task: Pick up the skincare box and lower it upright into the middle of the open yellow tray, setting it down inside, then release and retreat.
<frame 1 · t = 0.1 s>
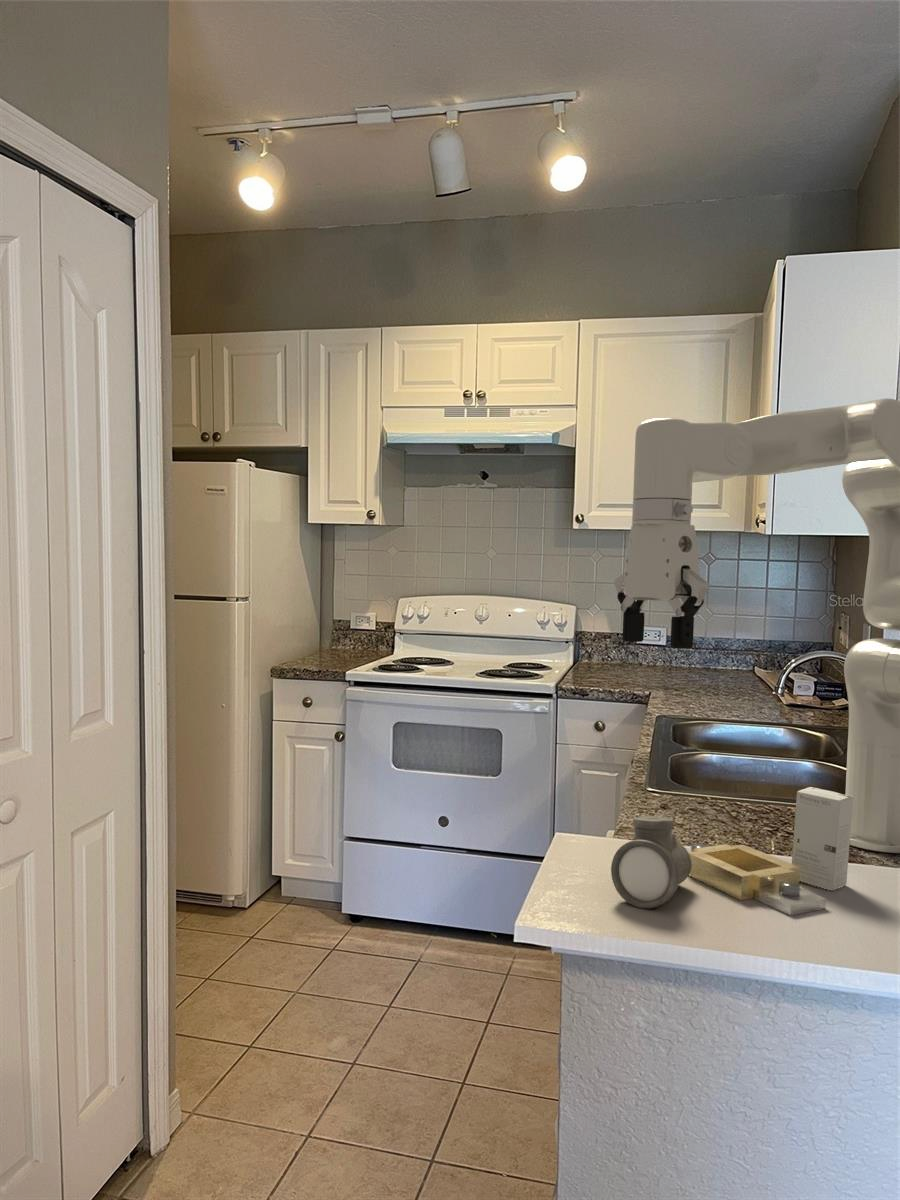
hand: (656, 644, 116), 31 cm above the counter, fingers open, 9 cm apart
open yellow tray: (741, 882, 117), on the counter
pipe fitting: (656, 896, 111), on the counter
skincare box: (819, 884, 118), on the counter
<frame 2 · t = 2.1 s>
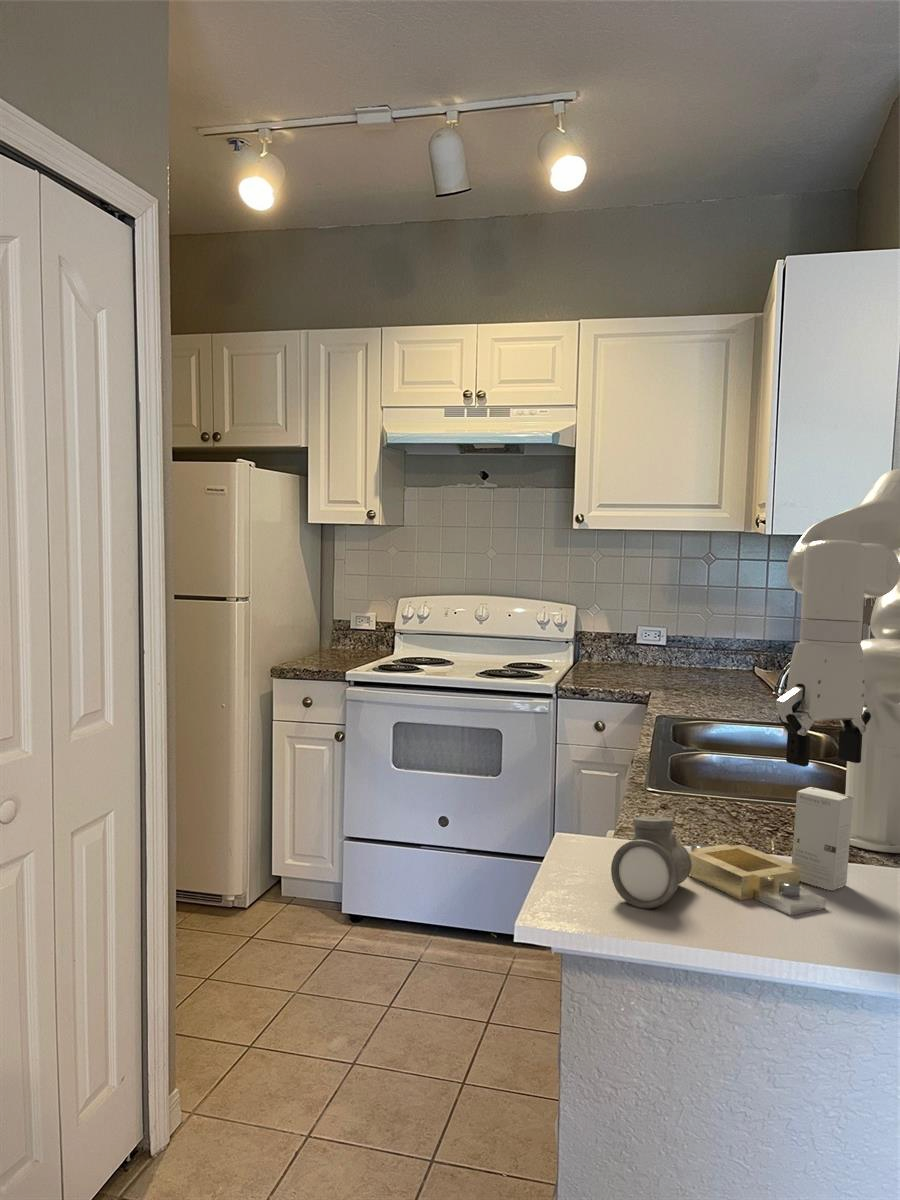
hand: (823, 762, 117), 16 cm above the counter, fingers open, 9 cm apart
nothing on the counter moved.
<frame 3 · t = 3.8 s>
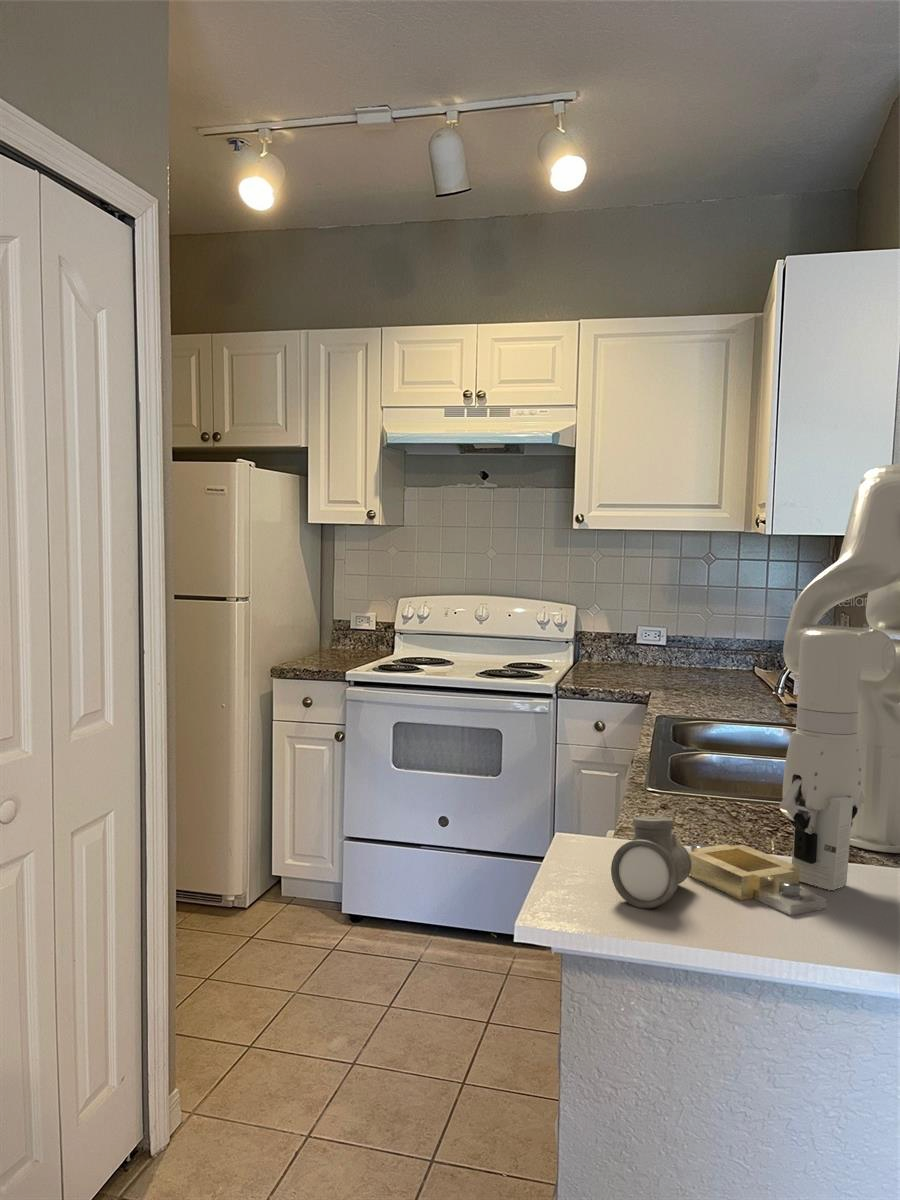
hand: (820, 856, 117), 3 cm above the counter, fingers closed on skincare box, 5 cm apart
skincare box: (819, 884, 118), on the counter, touching gripper
everything else where it was.
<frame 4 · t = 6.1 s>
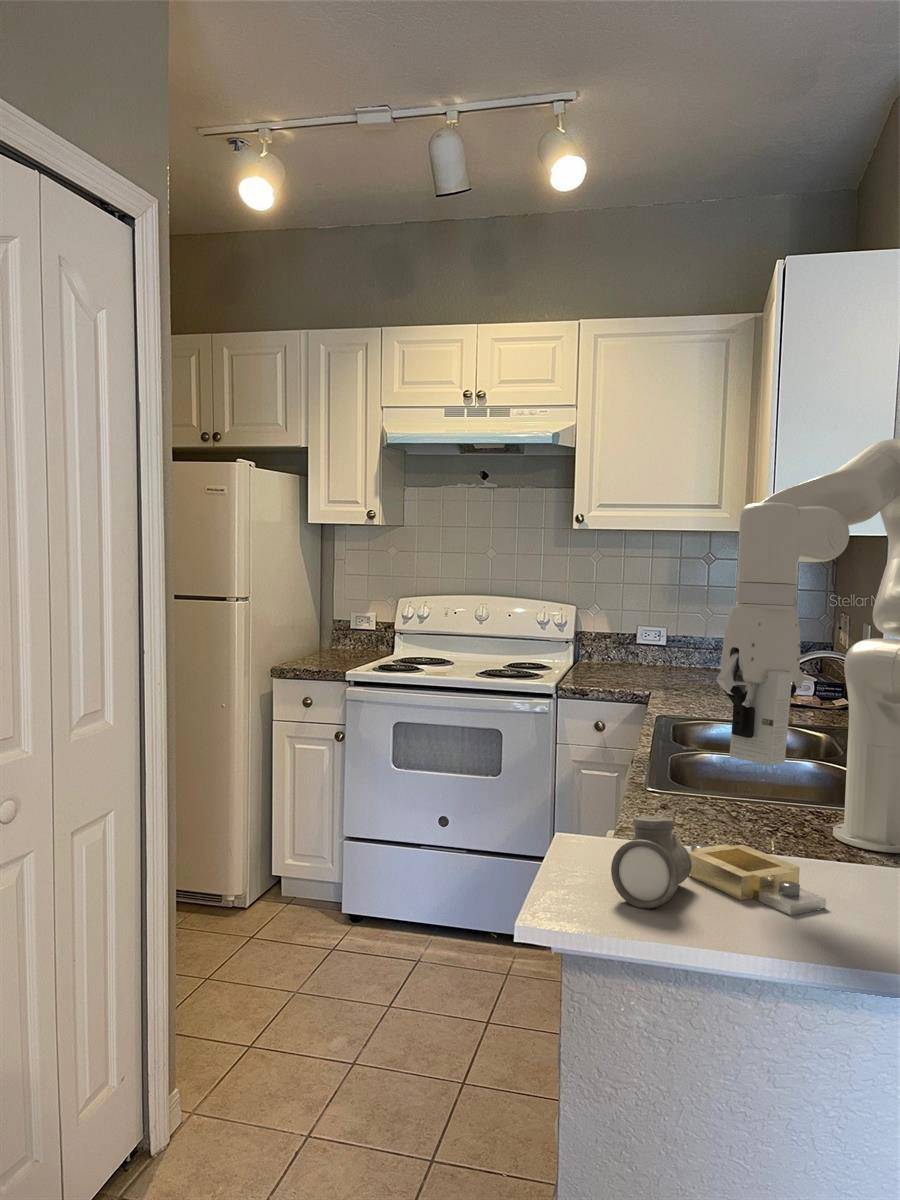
hand: (758, 733, 116), 20 cm above the counter, fingers closed on skincare box, 5 cm apart
skincare box: (758, 761, 116), point 16 cm above the counter, touching gripper
everything else where it was.
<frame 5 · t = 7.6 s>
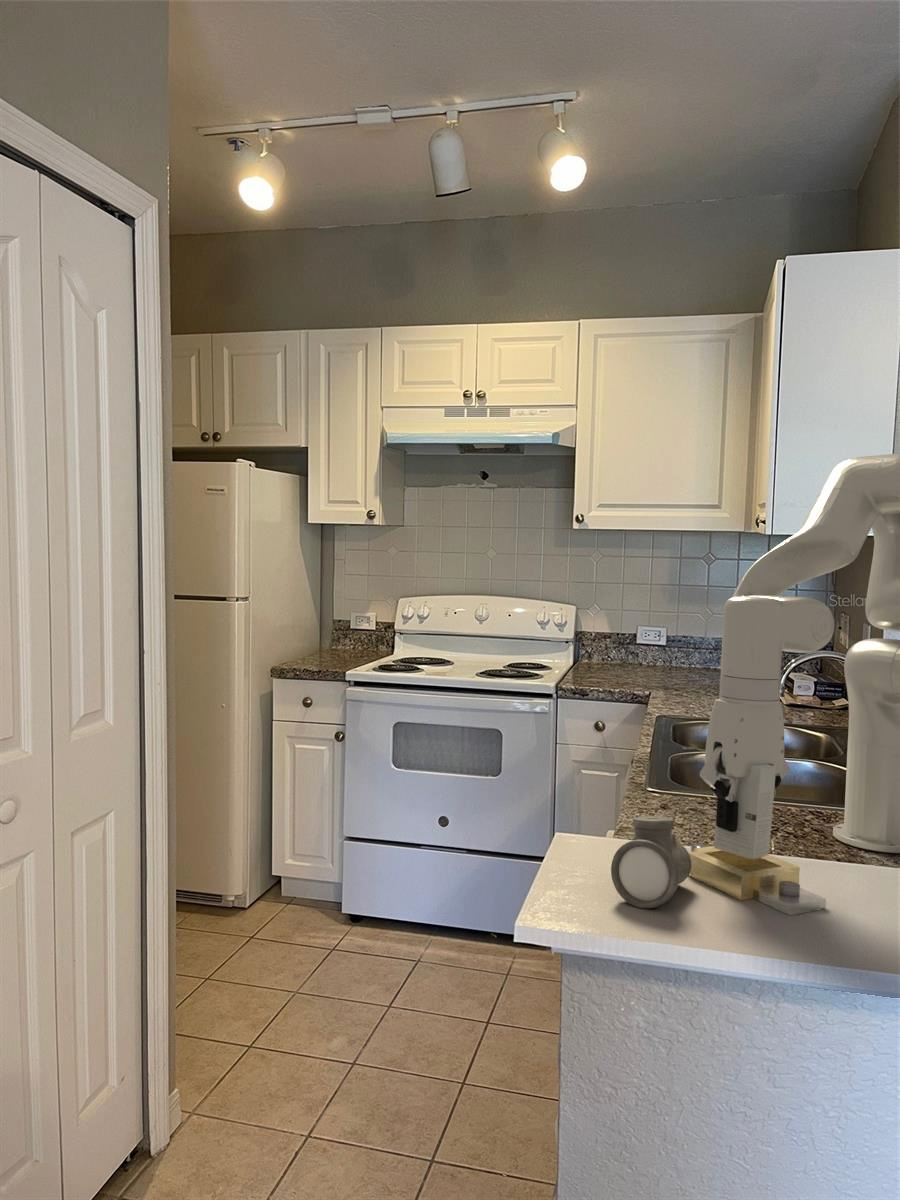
hand: (743, 825, 116), 8 cm above the counter, fingers closed on skincare box, 5 cm apart
skincare box: (742, 853, 116), point 4 cm above the counter, touching gripper
everything else where it was.
when the fingers open (5 cm above the counter, at t = 8.5 s): skincare box drops 1 cm, resting in open yellow tray.
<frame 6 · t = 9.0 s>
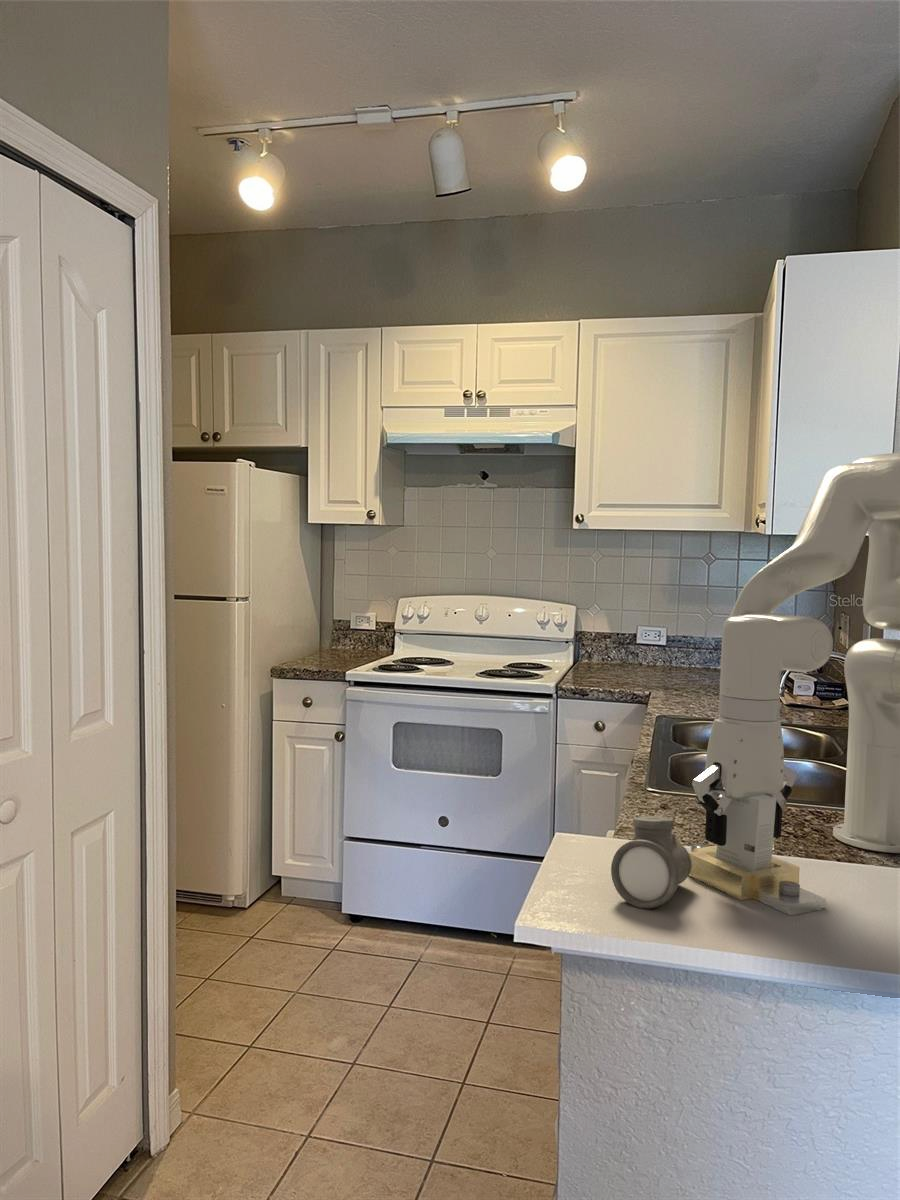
hand: (743, 838, 117), 6 cm above the counter, fingers open, 9 cm apart
skincare box: (743, 883, 117), resting in open yellow tray
everything else where it was.
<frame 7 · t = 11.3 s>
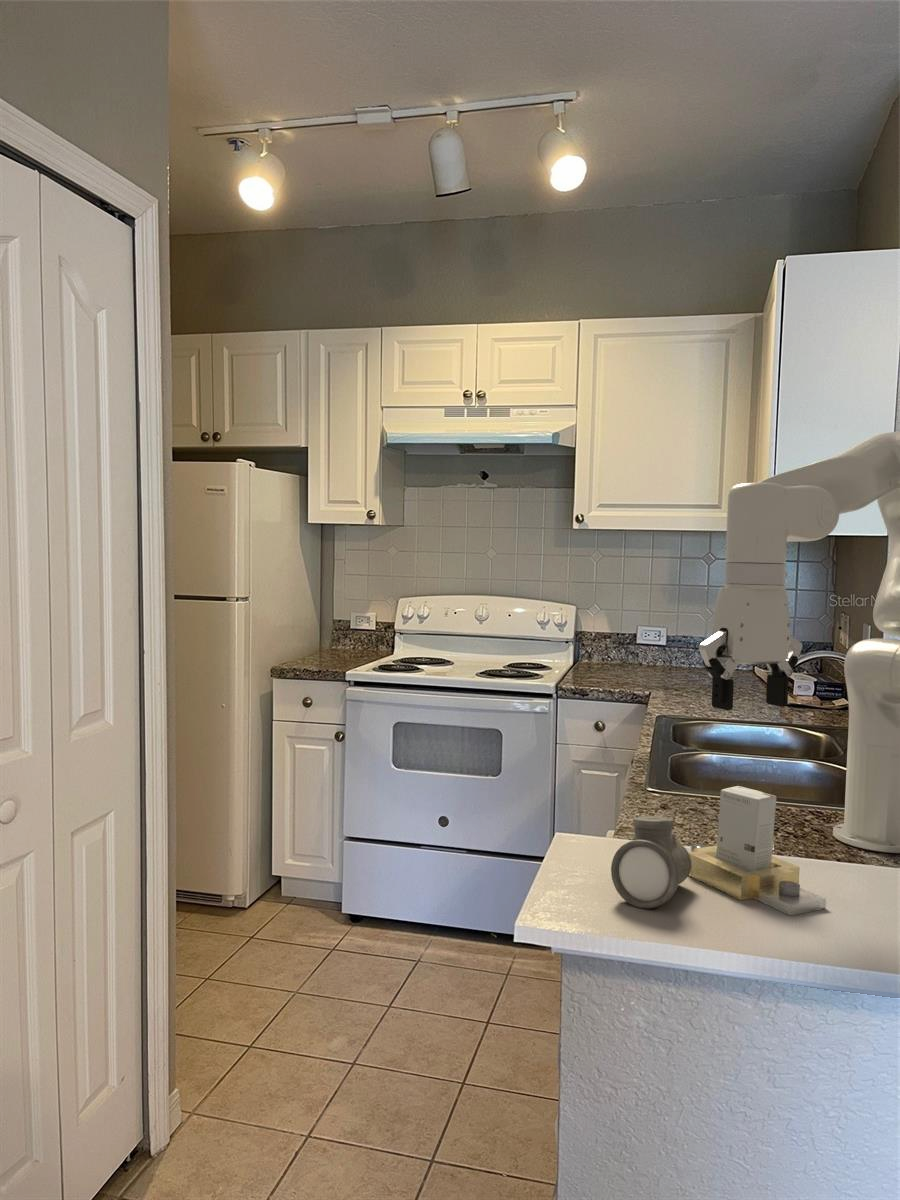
hand: (749, 706, 116), 23 cm above the counter, fingers open, 9 cm apart
nothing on the counter moved.
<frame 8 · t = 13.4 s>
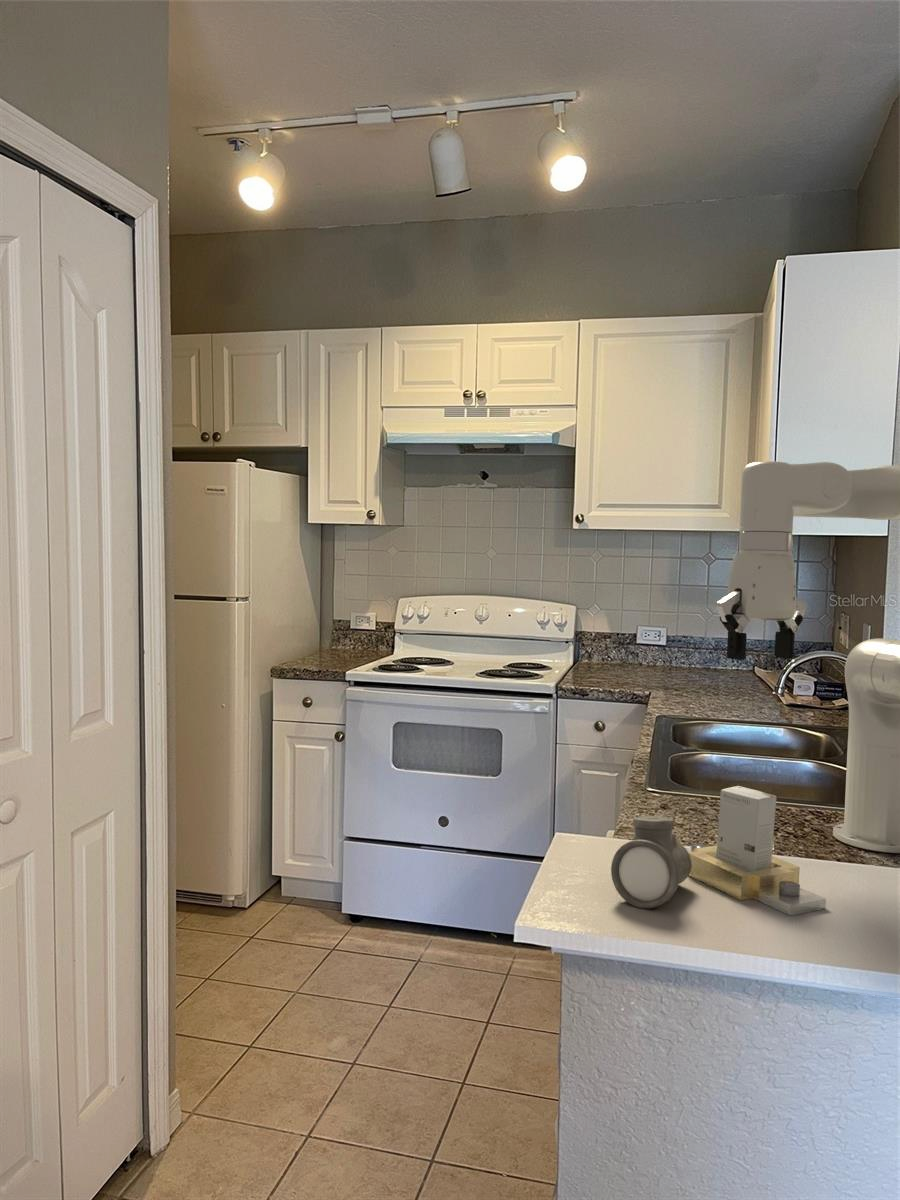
hand: (760, 658, 133), 28 cm above the counter, fingers open, 9 cm apart
nothing on the counter moved.
at the end: skincare box 0.3 cm off-centre on the open yellow tray, point 0.0 cm above the open yellow tray's base; skincare box tilted 0°; the gripper is holding nothing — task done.
